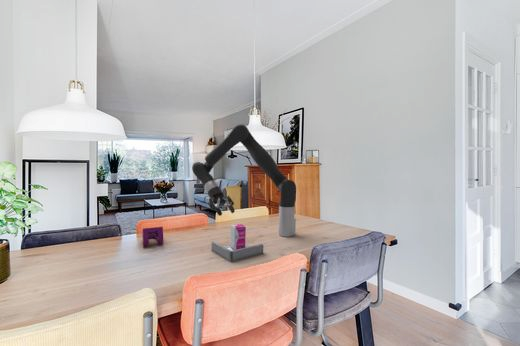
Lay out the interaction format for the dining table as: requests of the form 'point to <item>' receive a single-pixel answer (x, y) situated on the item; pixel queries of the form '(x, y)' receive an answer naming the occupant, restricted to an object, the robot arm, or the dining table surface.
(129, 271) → the dining table surface
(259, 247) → the corner tray
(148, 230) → the mounting bracket
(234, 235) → the supplement box
